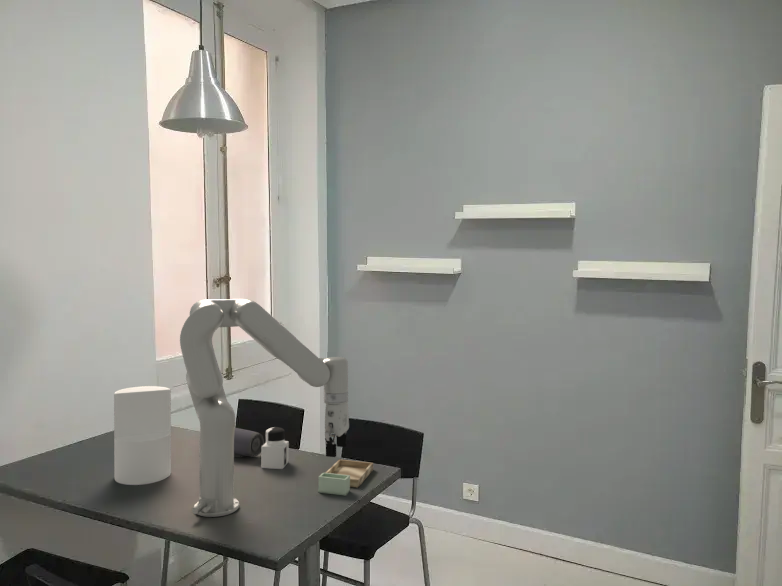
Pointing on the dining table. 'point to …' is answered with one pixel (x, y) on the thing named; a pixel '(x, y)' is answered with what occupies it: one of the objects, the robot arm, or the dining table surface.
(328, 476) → the small crate
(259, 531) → the dining table surface
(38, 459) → the dining table surface
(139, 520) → the dining table surface
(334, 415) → the robot arm
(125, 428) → the cylinder
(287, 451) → the container
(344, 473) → the wooden tray
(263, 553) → the dining table surface
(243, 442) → the bluetooth speaker
